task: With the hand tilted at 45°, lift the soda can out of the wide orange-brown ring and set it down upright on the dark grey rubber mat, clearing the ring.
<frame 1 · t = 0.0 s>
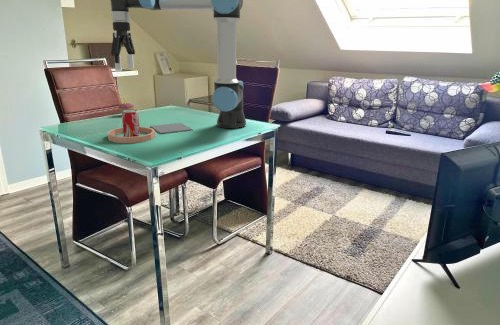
hand: (125, 69, 181), 28 cm above the table, tool pointing down, fingers open, 13 cm apart
cupcake: (126, 116, 215), on the table
rubber mat: (171, 128, 187), on the table
orange-brown ring: (131, 137, 171), on the table
soda can: (132, 137, 171), resting in orange-brown ring
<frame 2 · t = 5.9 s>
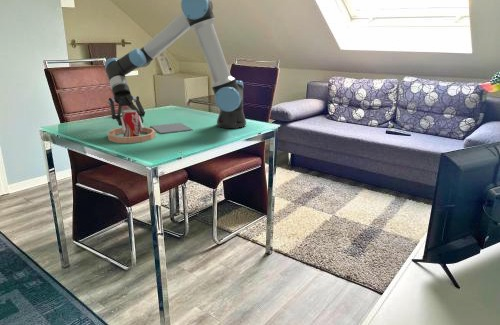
hand: (133, 130, 167), 4 cm above the table, tool tilted 45°, fingers closed on soda can, 7 cm apart
soda can: (131, 137, 171), resting in orange-brown ring, touching gripper
everything else where it was.
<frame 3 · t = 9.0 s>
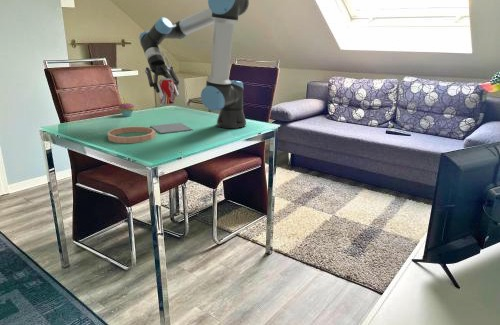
hand: (169, 96, 179), 16 cm above the table, tool tilted 45°, fingers closed on soda can, 7 cm apart
soda can: (167, 104, 183), point 12 cm above the table, touching gripper
everything else where it was.
when the fingers open (6 cm above the table, at t = 12.1 s): soda can drops 1 cm, resting on rubber mat.
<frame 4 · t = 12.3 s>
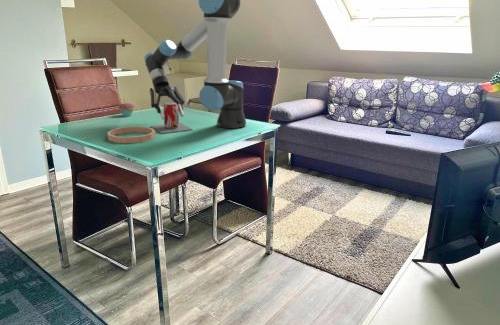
hand: (173, 117, 183), 6 cm above the table, tool tilted 45°, fingers open, 9 cm apart
soda can: (171, 127, 188), resting on rubber mat
everything else where it was.
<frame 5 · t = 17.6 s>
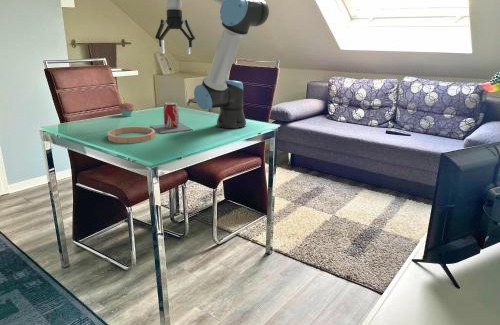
hand: (176, 53, 194), 35 cm above the table, tool pointing down, fingers open, 13 cm apart
nothing on the table moved.
at the end: soda can inside the target area on the rubber mat (0.4 cm from its centre), point 0.4 cm above the rubber mat's base; soda can tilted 0°; the gripper is holding nothing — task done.
